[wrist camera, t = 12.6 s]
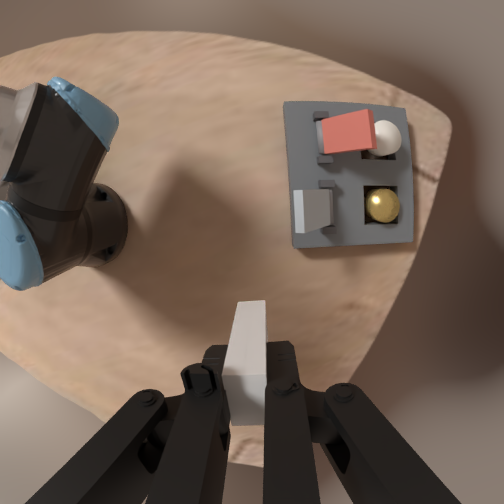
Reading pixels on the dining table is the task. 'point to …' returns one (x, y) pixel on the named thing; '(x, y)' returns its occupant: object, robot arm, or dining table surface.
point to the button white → (386, 138)
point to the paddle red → (346, 133)
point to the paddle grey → (312, 209)
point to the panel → (347, 176)
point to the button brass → (381, 205)
